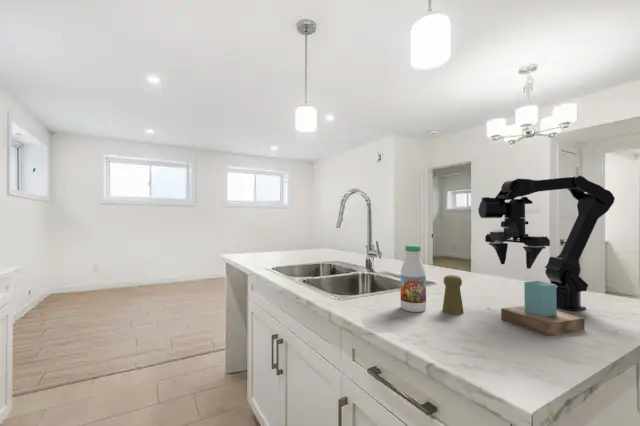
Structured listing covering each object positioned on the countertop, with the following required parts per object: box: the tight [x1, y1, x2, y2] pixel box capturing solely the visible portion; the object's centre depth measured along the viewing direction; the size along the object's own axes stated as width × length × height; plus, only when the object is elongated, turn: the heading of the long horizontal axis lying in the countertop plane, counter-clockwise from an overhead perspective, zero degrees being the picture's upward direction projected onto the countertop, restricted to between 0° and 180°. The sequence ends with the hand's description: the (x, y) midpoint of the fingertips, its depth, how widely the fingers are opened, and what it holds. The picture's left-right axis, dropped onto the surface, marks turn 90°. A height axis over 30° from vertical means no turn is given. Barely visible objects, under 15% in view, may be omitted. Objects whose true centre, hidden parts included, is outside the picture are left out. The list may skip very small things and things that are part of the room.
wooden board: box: [500, 305, 586, 337], centre depth 83 cm, size 13×13×3 cm
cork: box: [442, 274, 464, 316], centre depth 94 cm, size 6×6×11 cm
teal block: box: [523, 280, 558, 317], centre depth 83 cm, size 5×5×8 cm
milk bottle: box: [400, 244, 427, 313], centre depth 97 cm, size 8×8×20 cm
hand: (515, 266), depth 99 cm, fingers open, 9 cm apart
